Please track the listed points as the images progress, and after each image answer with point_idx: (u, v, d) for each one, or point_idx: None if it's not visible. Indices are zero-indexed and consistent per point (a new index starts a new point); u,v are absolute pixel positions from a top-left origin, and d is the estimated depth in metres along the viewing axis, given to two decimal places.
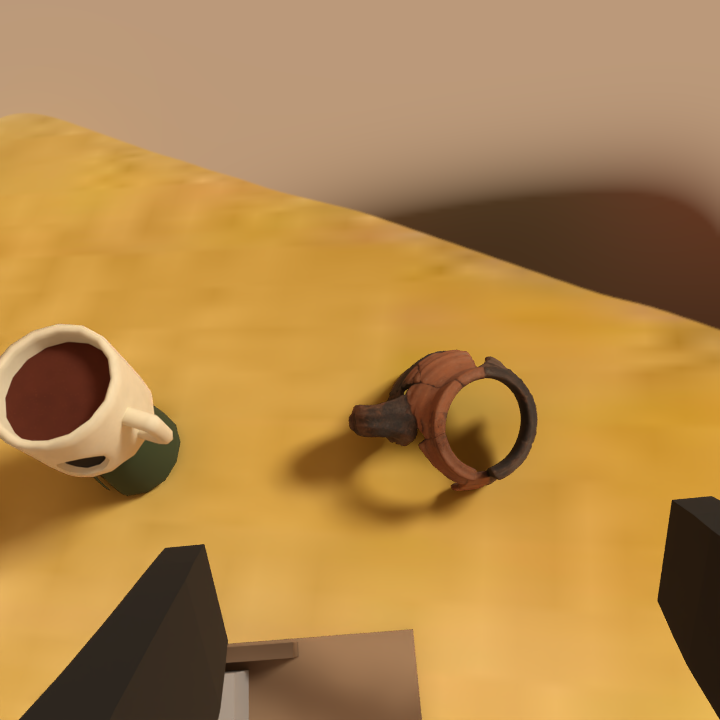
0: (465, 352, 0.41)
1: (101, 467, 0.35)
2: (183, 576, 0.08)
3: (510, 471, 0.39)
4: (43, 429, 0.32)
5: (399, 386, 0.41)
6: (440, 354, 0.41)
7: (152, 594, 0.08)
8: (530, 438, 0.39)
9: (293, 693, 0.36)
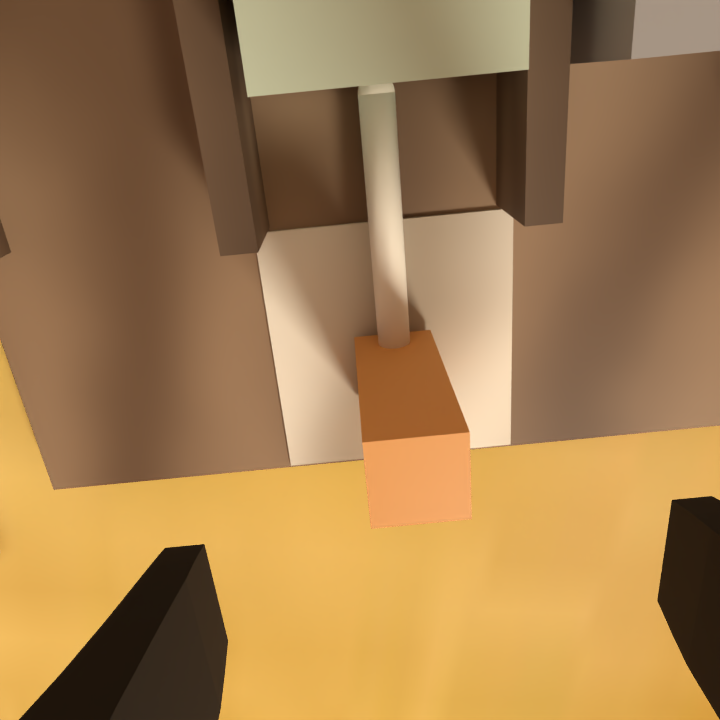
0: None
1: None
2: (183, 576, 0.08)
3: None
4: None
5: None
6: None
7: (152, 594, 0.08)
8: None
9: (678, 172, 0.15)
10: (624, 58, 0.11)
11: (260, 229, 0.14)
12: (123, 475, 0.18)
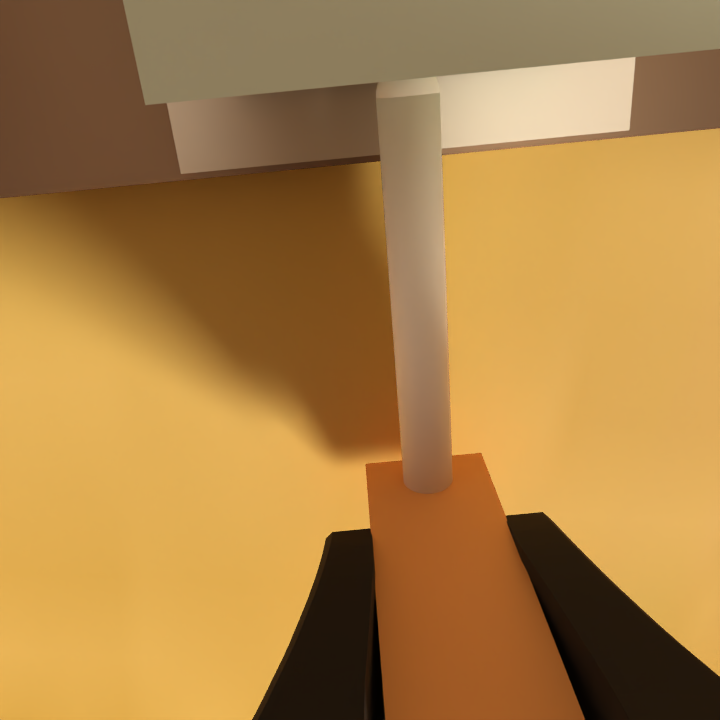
0: None
1: None
2: (369, 558, 0.08)
3: None
4: None
5: None
6: None
7: (346, 576, 0.08)
8: None
9: None
10: None
11: None
12: None
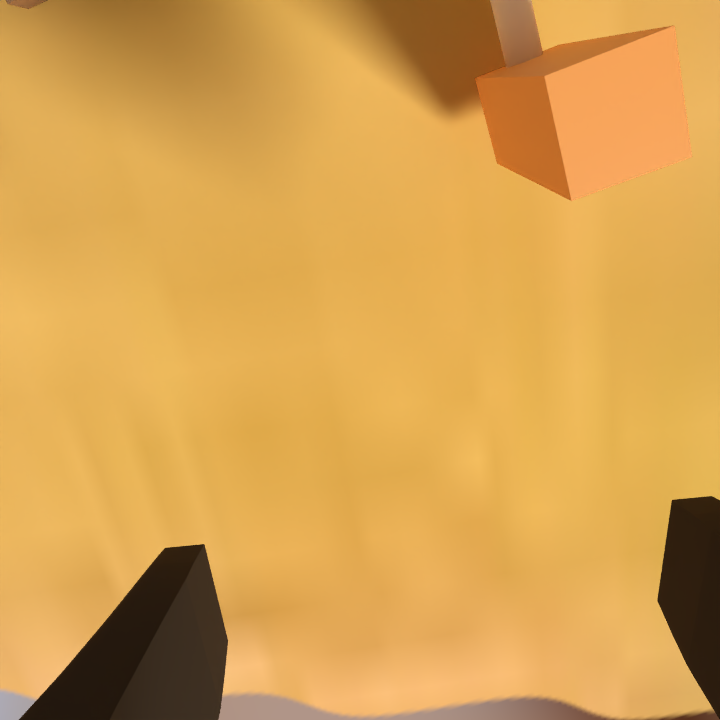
0: None
1: None
2: (183, 576, 0.08)
3: None
4: None
5: None
6: None
7: (152, 594, 0.08)
8: None
9: None
10: None
11: None
12: None
